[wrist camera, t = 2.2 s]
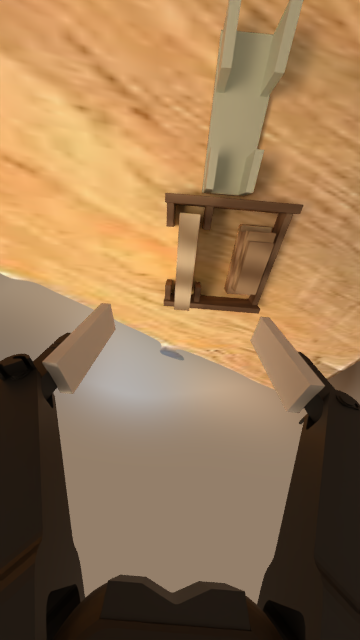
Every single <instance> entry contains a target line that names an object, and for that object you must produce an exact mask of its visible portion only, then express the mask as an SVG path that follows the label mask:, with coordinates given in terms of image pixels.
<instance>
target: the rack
mask: <svg viewBox="0 0 360 640" xmlns="http://www.w3.org/2000/svg"><path fill="white" fill-rule="evenodd" d="M165 202H166V203H167V226H169V227H174V226H175V204H177V205H188V206H200V207H205V210H204V218H203V225H202V228H203V229H204V230H210V228H211V221H212V215H213V209H214V208H223V209H234V210H246V211H257V212H269V213H279V214H278V217H277V220H276V223H275V225H274V228H273V231H272V233H271V230H272V227H262V226H251V225H240V226H239V230H238V234H237V238H236V243H235V247H234V251H233V255H232V259H231V263H230V267H229V271H228V275H227V279H226V283H225V288H224V289H225V291H226V293H227V294H239V295H250V297H249V299H238V298H226V297H214V296H202V295H200V292H201V285H200V282H195V287H194V294H193V295H191V298H190V307H189V308H198V309H210V310H222V311H234V312H246V313H259V311H260V308H259V307H258V306H257V305H258V302H259V300H260V297H261V294H262V292H263V289H264V287H265V284H266V282H267V279H268V277H269V274H270V272H271V269H272V267H273V264H274V261H275V259H276V256H277V254H278V251H279V249H280V246H281V244H282V241H283V239H284V236H285V234H286V231H287V229H288V226H289V223H290V221H291V218H292V216H293V214H300V212H301V210H302V207H303V205H299V204H288V203H276V202H265V201H254V200H242V199H231V198H219V197H208V196H196V195H185V194H174V193H165ZM174 303H175V293H172V280H170V279H167V282H166V285H165V299H164V306H174Z"/></svg>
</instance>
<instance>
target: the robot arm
mask: <svg viewBox="0 0 360 640" xmlns="http://www.w3.org/2000/svg"><path fill="white" fill-rule="evenodd" d="M114 331H115V325H114V319H113V314H112V309H111V304H106V303H101V304H100V305H99V306H98V307H97V308H96V309H95V310H94V311H93V312H92V313H91V314H90V315H89V316H88V317H87V318H86V319H85V320H84V321H83V322H82V323H81V324H80V325H79V326H78V327H77V328H76V329H75V330H74V331H73V332H72V333H66V334H64V335H63V336H61V337H59V338H58V339H57V340H56V341H55V342H54V344H52V345H51V346H50V347H49V348H47V349H46V350H45V351H44V352H43V353H42V354H41V355H40V356H39V357H38V358H37V359H35V360H34V361H32V360H31V358H30V357H29V355H27V354H17V355H13V356H10V357H7V358H5V359H4V360H2V361H0V640H360V405H359V404H358V402H357V401H356V400H355V399H353V398H352V397H351V396H349V395H348V394H346V393H344V392H341V391H338V390H335V389H334V387H333V386H332V385H331V384H330V383H329V382H328V381H327V379H326V378H325V377H324V376H323V375H322V373H321V372H320V371H319V370H318V369H317V368H316V366H315V365H313V363H312V362H311V361H310V359H309V358H308V357H306V356H305V355H304V354H302V353H301V352H297V351H296V350H295V348H294V347H293V346H292V345H291V343H290V342H289V341H288V340H287V339H286V337H285V336H284V335H283V334H282V332H281V331H280V330H279V329H278V327H277V326H276V325H275V324H274V323H273V321H272V320H271V319H270V318H269V317H260V319H259V322H258V324H257V327H256V329H255V331H254V334H253V336H252V338H251V343H252V345H253V347H254V349H255V351H256V353H257V355H258V357H259V359H260V360H261V362H262V364H263V366H264V368H265V370H266V372H267V374H268V376H269V378H270V380H271V382H272V384H273V386H274V388H275V390H276V392H277V394H278V396H279V398H280V400H281V402H282V404H283V406H284V408H285V410H286V412H295V413H299V412H300V411H301V410H302V409H303V408H305V410H306V411H307V415H305V416H304V417H303V418H302V419H301V420H300V422H299V424H302V423H303V422H304V424H303V428H302V433H301V437H300V442H299V446H298V451H297V455H296V460H295V464H294V469H293V474H292V478H291V483H290V487H289V492H288V497H287V501H286V506H285V510H284V515H283V520H282V524H281V528H280V533H279V537H278V542H277V546H276V551H275V555H274V558H273V560H272V562H271V564H270V565H269V567H268V568H267V571H266V573H265V575H264V579H263V582H262V586H261V590H260V595H259V599H258V603H257V604H255V603H254V602H253V601H252V600H250V599H249V598H248V597H247V596H245V591H242V590H239V589H237V588H235V587H232V586H230V585H227V584H225V583H215V582H202V581H199V582H196V583H194V584H192V585H190V586H187V587H185V588H183V589H181V590H178V591H176V592H174V593H171V592H169V591H167V590H166V589H164V588H163V587H161V586H159V585H158V584H156V583H155V582H153V581H152V580H150V579H148V578H147V577H141V576H129V575H119V576H117V577H115V578H112V579H110V580H109V581H108V583H106V584H104V585H102V586H101V587H99V588H97V589H96V590H94V591H93V592H92V593H90V594H89V595H88V596H87V597H86V598H85V594H84V587H83V580H82V574H81V566H80V561H79V557H78V553H77V551H76V548H75V546H74V543H73V538H72V530H71V523H70V515H69V506H68V499H67V491H66V483H65V475H64V467H63V459H62V451H61V444H60V435H59V427H58V419H57V411H56V403H55V396H54V394H53V392H54V391H55V389H56V388H58V389H59V391H60V393H69V394H73V393H74V392H75V390H76V389H77V387H78V386H79V384H80V383H81V381H82V380H83V378H84V377H85V375H86V373H87V372H88V370H89V369H90V367H91V366H92V364H93V363H94V361H95V360H96V358H97V357H98V355H99V354H100V352H101V351H102V349H103V348H104V346H105V344H106V343H107V341H108V340H109V338H110V337H111V335H112V334H113V332H114Z"/></svg>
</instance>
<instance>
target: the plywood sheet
mask: <svg viewBox="0 0 360 640" xmlns="http://www.w3.org/2000/svg"><path fill="white" fill-rule="evenodd" d="M200 216H201V215H200V214H189V213H180V217H179V234H178V251H177V268H176V285H175V303H174V309H175V310H187V311H189V307H190V298H191V290H192V282H193V274H194V265H195V257H196V249H197V240H198V232H199V224H200Z"/></svg>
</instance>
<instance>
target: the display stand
mask: <svg viewBox="0 0 360 640" xmlns="http://www.w3.org/2000/svg"><path fill="white" fill-rule="evenodd" d="M302 3H303V0H289V3H288V5H287V7H286V9H285V11H284V13H283V15H282V17H281V20H280V22H279V24H278V26H277V28H276V30H275V32H274V34H262V33H252V32H241V31H237V25H238V18H239V12H240V5H241V0H229V2H228V7H227V12H226V17H225V23H224V28H223V30H221V35H220V43H219V51H218V60H217V69H216V77H215V86H214V94H213V103H212V111H211V120H210V128H209V137H208V145H207V154H206V162H205V171H204V180H203V188H202V193H210V194H221V195H232V196H246V195H249V194H251V193H253V192H254V188H255V184H256V180H257V176H258V172H259V168H260V165H261V161H262V157H263V153H264V150H261V149H257V147H258V143H259V139H260V135H261V130H262V126H263V122H264V118H265V114H266V110H267V105H268V101H269V97H270V93H271V92H272V91H273V89H274V88H275V86H276V85H277V83H278V82H279V80H280V79H281V77H282V76H283V74H284V72H285V68H286V65H287V61H288V57H289V53H290V49H291V45H292V41H293V38H294V34H295V30H296V26H297V22H298V18H299V14H300V11H301V7H302Z"/></svg>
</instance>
